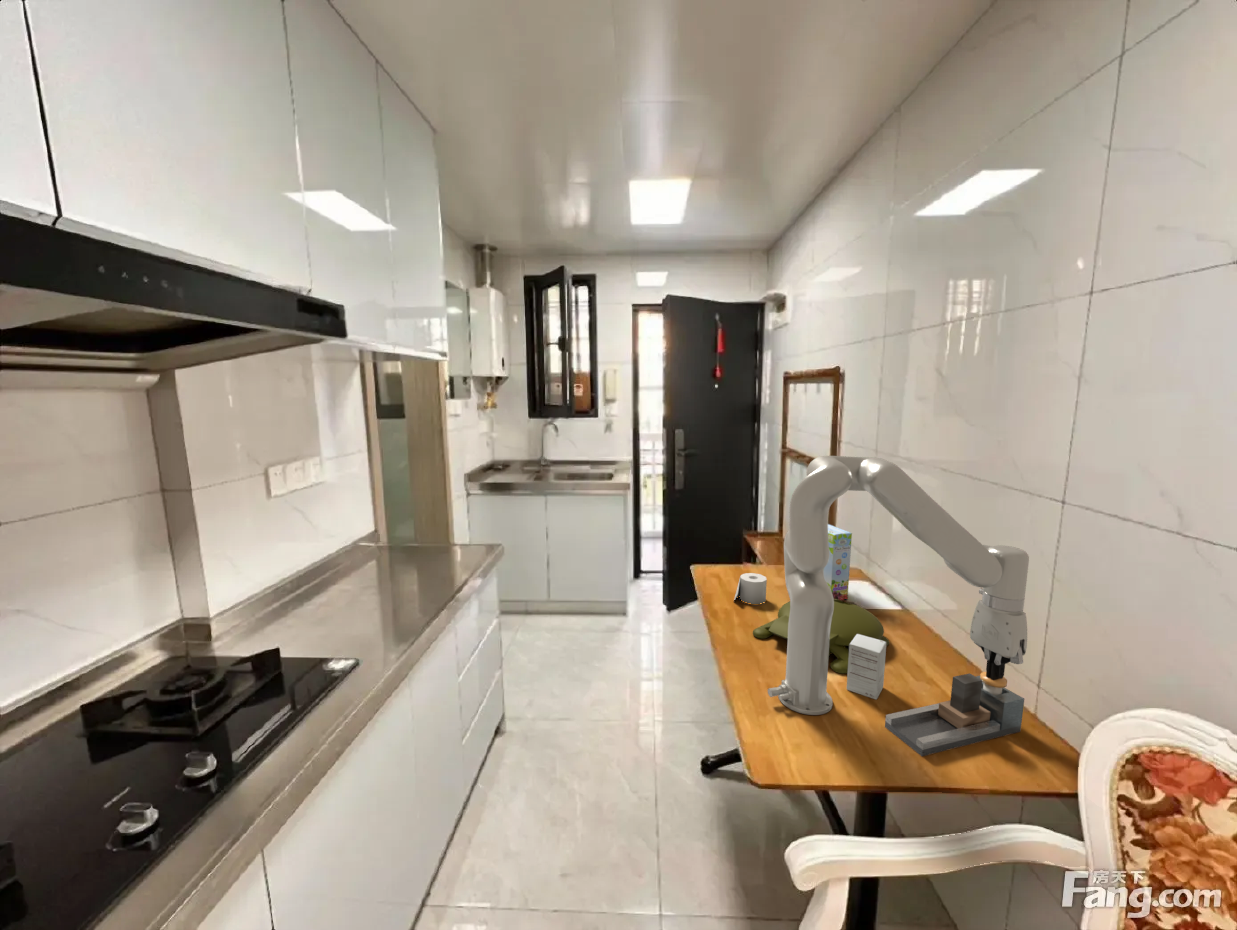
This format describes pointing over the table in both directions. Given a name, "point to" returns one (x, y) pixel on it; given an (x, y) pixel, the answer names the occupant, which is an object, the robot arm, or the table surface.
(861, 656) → the supplement box
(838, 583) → the snack box
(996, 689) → the button
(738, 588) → the toilet tissue
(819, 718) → the table surface
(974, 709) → the block
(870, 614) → the green toy turtle
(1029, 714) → the table surface
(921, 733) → the rail base
